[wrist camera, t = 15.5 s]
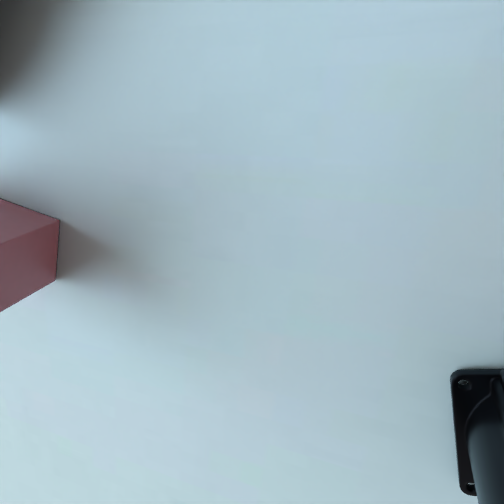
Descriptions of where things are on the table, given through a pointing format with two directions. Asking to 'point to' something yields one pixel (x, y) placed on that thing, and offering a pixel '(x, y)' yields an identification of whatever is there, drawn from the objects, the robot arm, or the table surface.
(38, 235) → the packet
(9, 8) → the table surface
